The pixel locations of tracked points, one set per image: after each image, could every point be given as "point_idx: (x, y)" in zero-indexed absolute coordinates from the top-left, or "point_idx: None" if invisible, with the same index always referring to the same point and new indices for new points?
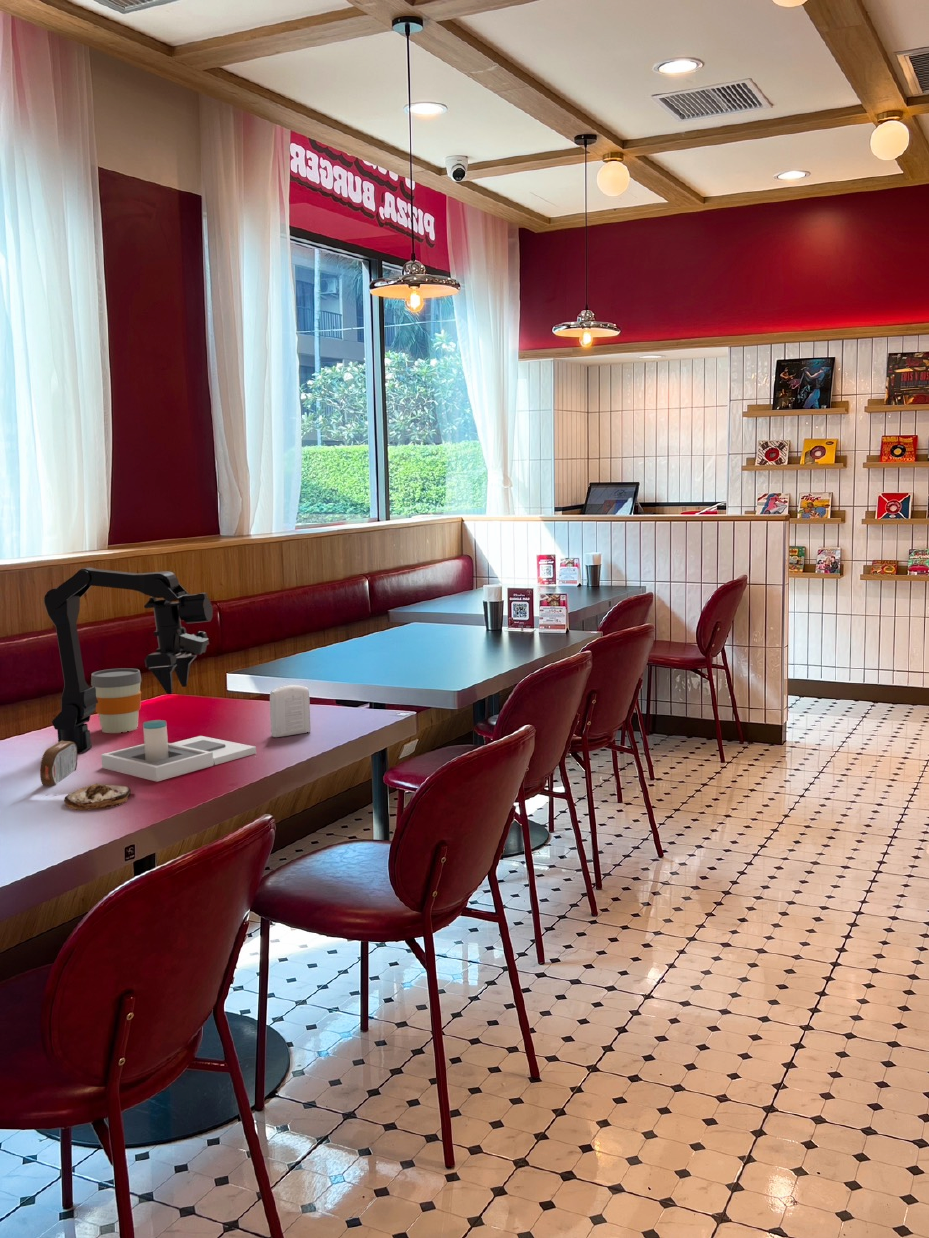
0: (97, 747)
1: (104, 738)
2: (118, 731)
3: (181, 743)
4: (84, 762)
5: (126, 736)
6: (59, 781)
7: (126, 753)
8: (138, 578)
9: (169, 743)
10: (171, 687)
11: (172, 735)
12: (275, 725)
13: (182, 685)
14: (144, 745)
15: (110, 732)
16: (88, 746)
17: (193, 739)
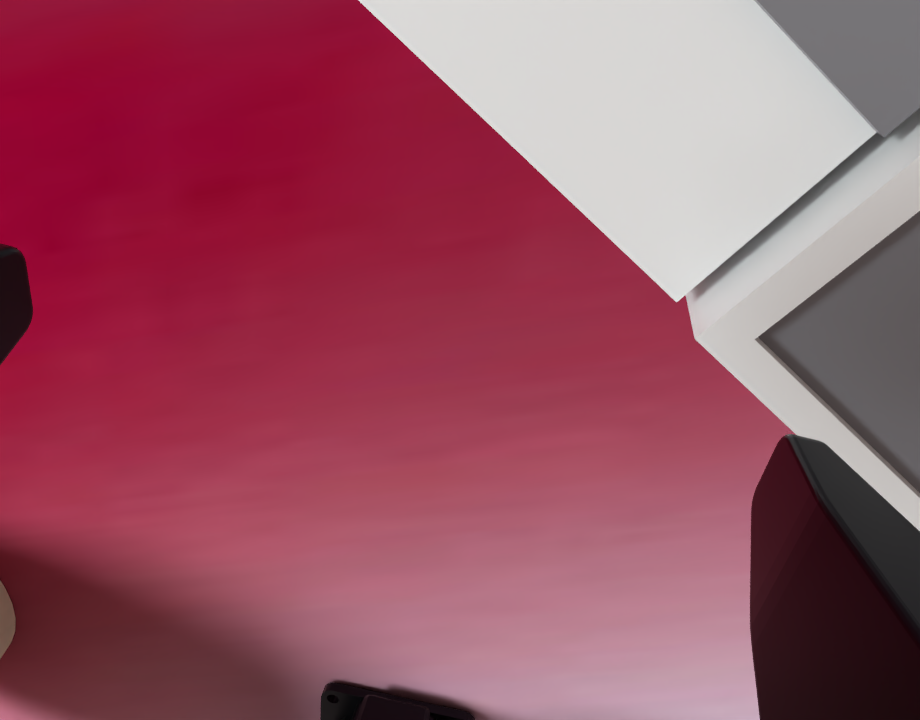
0: (334, 655)
1: (132, 640)
2: (1, 595)
3: (621, 117)
4: (684, 686)
5: (80, 544)
6: None
7: None
8: None
9: (876, 206)
10: (898, 523)
11: (29, 277)
12: None
13: (17, 326)
14: (842, 421)
15: (13, 627)
16: (402, 708)
17: (476, 19)
